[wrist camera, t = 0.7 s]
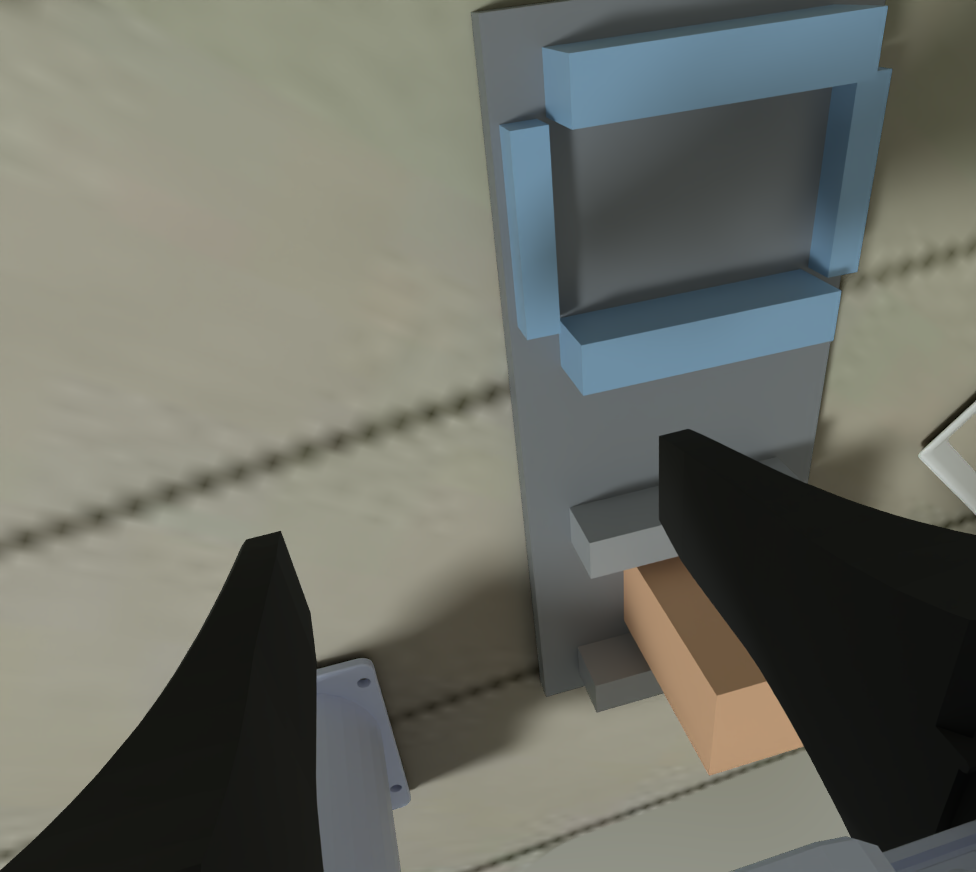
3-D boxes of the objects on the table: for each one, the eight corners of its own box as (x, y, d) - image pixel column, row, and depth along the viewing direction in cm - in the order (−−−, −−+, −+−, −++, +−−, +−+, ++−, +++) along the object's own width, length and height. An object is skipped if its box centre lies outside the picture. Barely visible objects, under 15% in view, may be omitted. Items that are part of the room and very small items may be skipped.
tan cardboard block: (715, 595, 30) (820, 741, 24) (624, 620, 29) (709, 775, 24) (722, 520, 28) (838, 660, 22) (623, 545, 27) (716, 695, 22)
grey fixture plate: (773, 616, 33) (811, 664, 31) (540, 681, 31) (561, 737, 29) (871, -43, 20) (952, -47, 17) (471, 12, 18) (499, 16, 16)
